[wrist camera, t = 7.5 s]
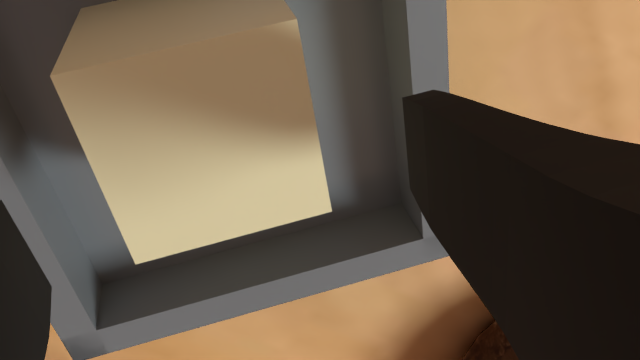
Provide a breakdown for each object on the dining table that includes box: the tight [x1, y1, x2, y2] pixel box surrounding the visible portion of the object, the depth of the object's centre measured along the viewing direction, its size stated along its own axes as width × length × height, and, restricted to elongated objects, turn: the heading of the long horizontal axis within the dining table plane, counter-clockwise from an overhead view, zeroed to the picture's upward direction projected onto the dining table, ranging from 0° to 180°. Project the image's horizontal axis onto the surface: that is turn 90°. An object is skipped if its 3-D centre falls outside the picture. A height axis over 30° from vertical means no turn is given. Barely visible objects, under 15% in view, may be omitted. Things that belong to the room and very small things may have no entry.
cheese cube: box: [50, 0, 332, 265], centre depth 13 cm, size 4×4×4 cm
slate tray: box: [0, 0, 449, 360], centre depth 15 cm, size 12×14×2 cm
